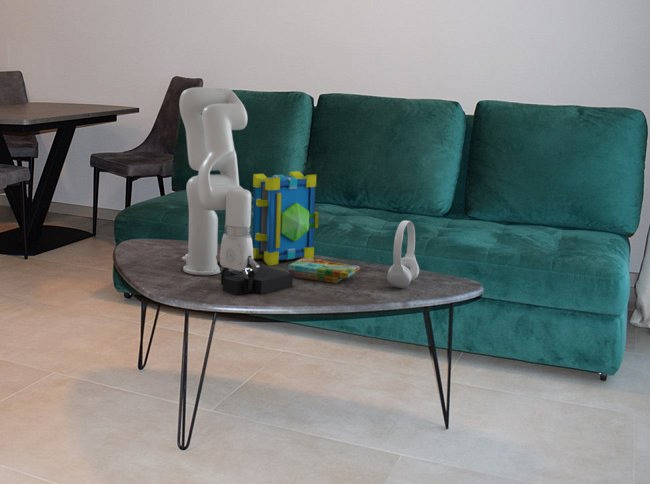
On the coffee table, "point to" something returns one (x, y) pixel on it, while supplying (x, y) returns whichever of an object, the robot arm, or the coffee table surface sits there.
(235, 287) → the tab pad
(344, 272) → the puzzle game
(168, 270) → the coffee table surface
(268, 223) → the blue tall framed box
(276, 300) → the coffee table surface
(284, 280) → the notch pad
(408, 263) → the headphones
